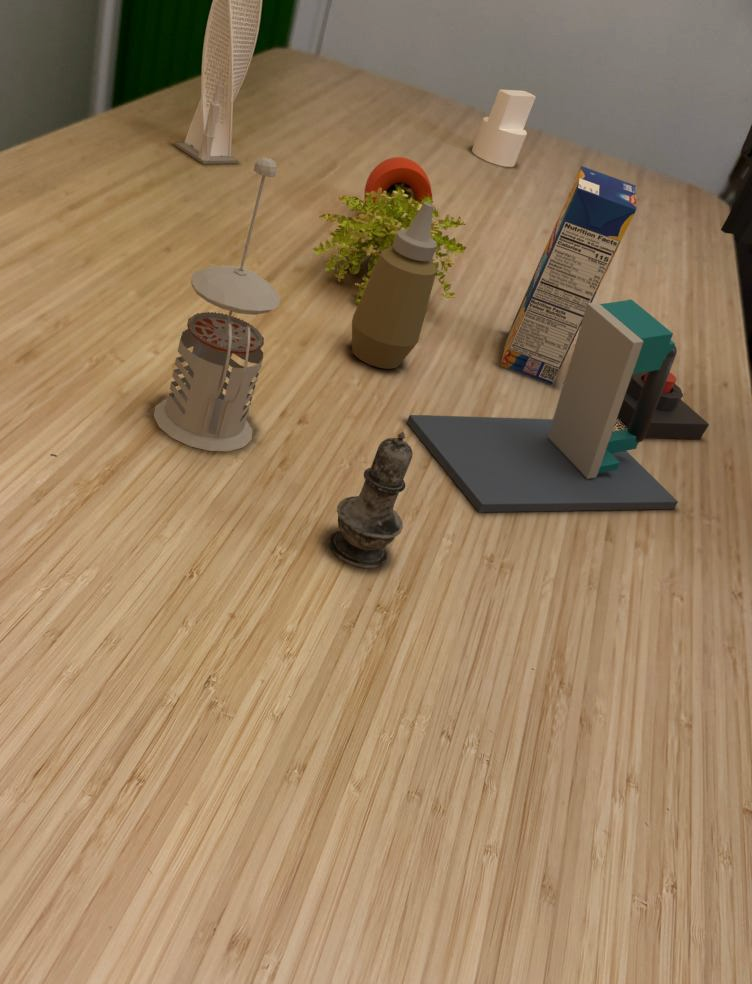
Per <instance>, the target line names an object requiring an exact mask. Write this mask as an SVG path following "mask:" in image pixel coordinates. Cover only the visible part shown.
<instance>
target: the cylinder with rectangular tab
mask: <svg viewBox="0 0 752 984" xmlns="http://www.w3.org/2000/svg"><path fill="white" fill-rule="evenodd" d="M536 98H537V96H536V95H534V94H532V93H530V92H529V91H526V90H520V89H519V90H517V89H498V91H497V93H496V97H495V100H494V102H493V105H492V107H491V110H490V112H489V116H485V117H483V118H482V121H481V124H480V127H479V130H478V131H477V132H478V133H477V134H476V138H475V141H474V143H473V146H472V149H471V152H472V153H473V154H474V155H475V156H476V157H478V158H479V159H481V160H483V161H486V162H488V163H491V164H494V165H497V166H501V167H505V168H506V167H507V168H512V167H515V166H516V164H517V161H518V159H519V155H520V153H521V151H522V148H523V146H524V143H525V140H526V139H527V135H528V132H527V131H526V129H524V128H525V126H526V123H527V121H528V118H529V116H530V114H531V110H532V108H533V107H534V104H535V102H536Z"/></svg>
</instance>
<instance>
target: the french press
mask: <svg viewBox="0 0 752 984" xmlns="http://www.w3.org/2000/svg"><path fill="white" fill-rule="evenodd" d="M253 171H254V172H255V173H256V174H258V175H259V176H261V180H260V183H259V184H260V185H259V188H258V191H257V192H258V193H257V197H256V200H255V205H254V209H253V214H252V218H251V221H250V226H249V230H248V233H247V238H246V242H245V246H244V251H243V253H242V259H241V263H240V266H237V265H236V266H235V265H231V264H221V265H210V266H207V267H204V268H201V269H199V270H197V271H196V272H194V273H192V274H191V279H190V284H191V287H192V288H193V290H194V292H195V293H196V295H197V296H199V297H200V298H201V299H203V300H204V301H206V302H207V303H209V304H211V305H213V306H215V307H217V308H219V309H221V310H225V311H229V313H228V314H227V313H225V314H224V313H223V312H216V311H211V312H210V311H205V312H200V313H199V312H197V313H195V314H194V315H192V316H190V317H189V318H188V319H187V323H186V326H187V328H186V329H185V330H184V331H182V332H181V335H180V339H179V343H178V347H177V353H178V354H179V355H180V356H177V357H175V361H174V365H175V366H176V367H177V368H175V369H173V370H172V375H171V377H172V378H173V380H172V381H170V385H169V390H170V391H171V392H170V393H168V394H167V397H166V398H165V399H163V400H162V401H160V402H159V403H158V404H156V405H155V407H154V413H153V418H154V420H155V422H156V425H157V426H158V428H159V429H161V430H162V431H163V432H164V433H165V434H167V435H168V436H169V437H170V438H172V439H173V440H175V441H178V442H179V443H182V444H184V445H186V446H188V447H191V448H194V449H195V448H196V449H200V450H204V451H207V452H231V451H235V450H239V449H243V448H244V447H246V446H247V445H248V444H249V443H251V441H252V440H253V428H252V427H251V425H250V423H249V422H248V416H249V413H250V406H251V405H252V401H253V395H254V393H255V390H256V383H257V382H258V379H259V375H260V373H259V371H260V370H261V367H262V364H263V361H264V352H263V350H262V349H261V348H262V347H263V346H264V341H265V337H264V336H263V335H262V333H261V331H260V330H259V329H258V328H257V327H255V326H254V325H252V324H251V323H250V321H249V322H247V321H244V319H241V317H240V318H237V316H236V317H235V315H233V313H235V314H240V315H252V316H258V315H263V314H266V313H268V314H269V313H270V312H271V311H273V310H274V309H275V308H277V307H279V306H280V305H281V296H280V295H279V293H278V292H277V291H276V290H275V288H274V286H272V284H271V283H270V282H268V281H267V280H265V279H264V278H263V277H261V276H259V275H258V274H257V273H255V272H254V271H252V270H250V269H248V268H244V266H245V262H246V257H247V254H248V249H249V246H250V241H251V236H252V233H253V229H254V225H255V221H256V218H257V217H256V216H257V212H258V209H259V205H260V201H261V197H262V192H263V187H264V184H265V179H266V177H268V178H276V175H277V163H276V161H275V160H273V159H271V158H270V157H265V156H264V157H262V156H261V157H260V158H258V159H257V160H256V162H255V163H254V167H253ZM190 348H192V352H191V351H190V350H189V349H190ZM232 355H235V356H237V357H238V358H240V359H241V360H243V361H244V364H243V365H241V364H239V363H238V362H236V361H235V360H234V359H233V358H232ZM184 362H185V363H186V364H187V365H185V366H184V365H183V363H184ZM248 363H250V364H255V365H251V366H248ZM229 367H231V370H229ZM180 375H182V376H183V377H180ZM254 378H255V380H254V381H252V380H253V379H254ZM226 379H228V382H226ZM177 387H179V388H180V389H177ZM224 390H225V394H224V393H223V391H224ZM251 390H252V391H251ZM250 392H251V393H250ZM247 404H248V405H247Z"/></svg>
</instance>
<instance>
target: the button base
mask: <svg viewBox="0 0 752 984" xmlns="http://www.w3.org/2000/svg"><path fill="white" fill-rule="evenodd" d="M646 373H647V372H643V373H637V374H632V376H631V379H630V382H629V385H628V388H627V391H626V393H625V396H624V399H623V402H622V405H621V408H620V411H619V414H618V416H617V418H618V419H620V420H621V421H622V422H623V423H624V424H625V425H626V426H627V427H629V425H630V422H631V419H632V416H633V414H634V411H635V408H636V405H637V402H638V400H639V397H640V394H641V391H642V389H643V386H644V382H643V381H642V380H643V378H644V376H645V374H646ZM683 397H684V394H683V391H682V389H681V387H680V386H679V385H677V384H676V383H675V384H674V386H673V388H672V389H671V391H670V393H663V392H662V393H661V396H660V399H659V401H658V404H657V407H656V409H655V412H654V415H653V417H652V420H651V423H650V425H649V428H648V431H647V433H646V436H645V438H644V439H667V440H668V439H669V440H670V439H673V440H677V439H678V440H701V439H702V437H703V435H704V434H705V432H706V431H707V429H708V427H709V425H710V423H709V422H708V421H706V420H705V419H704V418H703V416H701V415H700V414H698V413H697V412H696V411H695V410H694V409H693V408H691V407H690V406H689V405H688V404H687V403H685V401H683V400H682V398H683Z"/></svg>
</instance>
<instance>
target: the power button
mask: <svg viewBox="0 0 752 984" xmlns="http://www.w3.org/2000/svg"><path fill="white" fill-rule="evenodd" d="M647 375H648V372H647V373H646V374H645V376H644V378H643V380H642V381H643V382H644V383H645V380H646V377H647ZM677 381H678V380H677V377H676V376H675V375H674V374H673V373H672V372H671V371H670V372H669V375H668V377H667V380H666V383H665V385H664V388H663V391H662V392H663V393H670V391H671V389H672V388H673V386H674V384H676V383H677Z"/></svg>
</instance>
